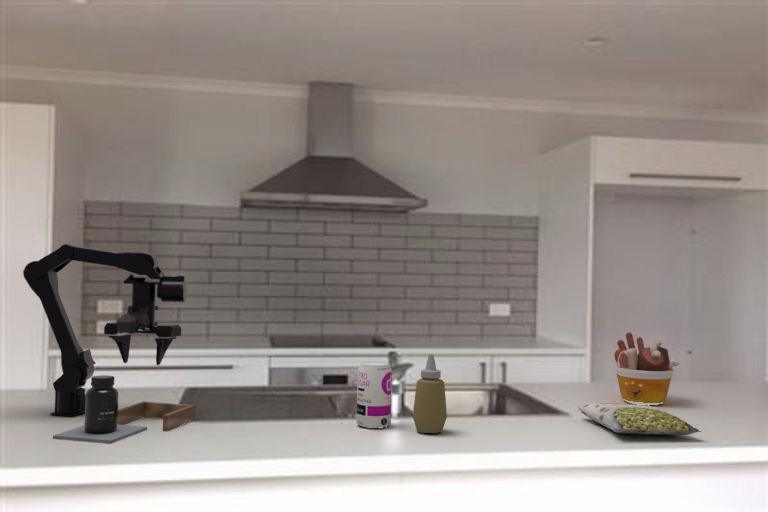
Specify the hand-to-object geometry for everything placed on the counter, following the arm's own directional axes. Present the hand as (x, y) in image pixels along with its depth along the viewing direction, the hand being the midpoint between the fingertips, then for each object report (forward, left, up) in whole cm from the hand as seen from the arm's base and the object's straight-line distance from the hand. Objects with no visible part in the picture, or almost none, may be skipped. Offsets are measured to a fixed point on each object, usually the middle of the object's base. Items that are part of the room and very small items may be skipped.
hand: (141, 363), depth 185 cm
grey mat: (+4, -22, -12) cm, 26 cm away
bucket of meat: (+126, +64, -13) cm, 142 cm away
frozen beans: (+120, +23, -13) cm, 123 cm away
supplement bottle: (+4, -22, -12) cm, 25 cm away
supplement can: (+59, +6, -13) cm, 61 cm away
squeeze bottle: (+73, +4, -13) cm, 74 cm away
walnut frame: (+9, -9, -12) cm, 18 cm away
